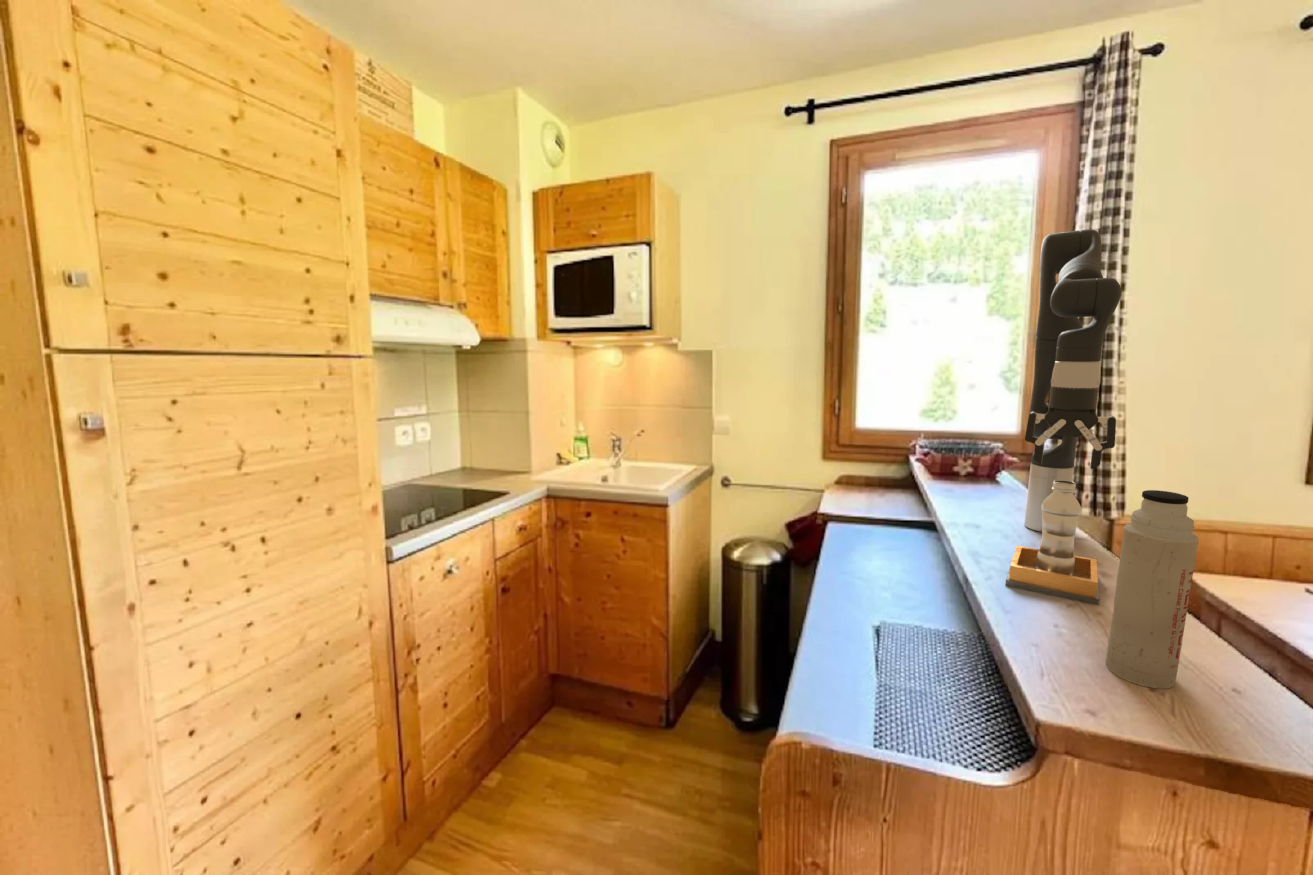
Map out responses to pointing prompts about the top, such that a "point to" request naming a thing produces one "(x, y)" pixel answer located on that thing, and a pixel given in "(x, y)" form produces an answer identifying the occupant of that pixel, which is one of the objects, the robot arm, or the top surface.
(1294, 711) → the top surface
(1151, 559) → the thermos bottle
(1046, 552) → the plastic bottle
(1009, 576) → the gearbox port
